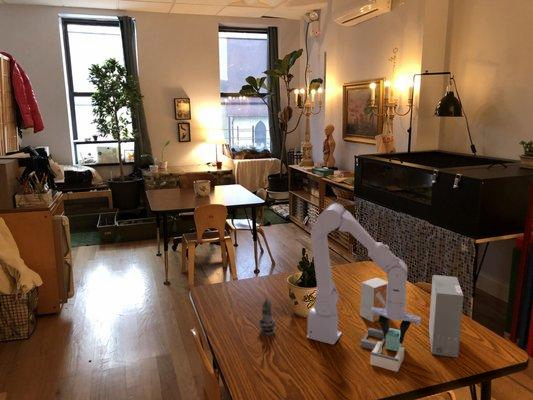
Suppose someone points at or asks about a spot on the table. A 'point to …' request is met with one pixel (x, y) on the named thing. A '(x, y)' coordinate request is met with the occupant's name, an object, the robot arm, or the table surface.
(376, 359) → the port
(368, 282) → the small box
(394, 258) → the robot arm
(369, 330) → the frame
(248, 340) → the table surface
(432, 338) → the hard drive box
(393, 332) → the plug
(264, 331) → the grey ridged spire
